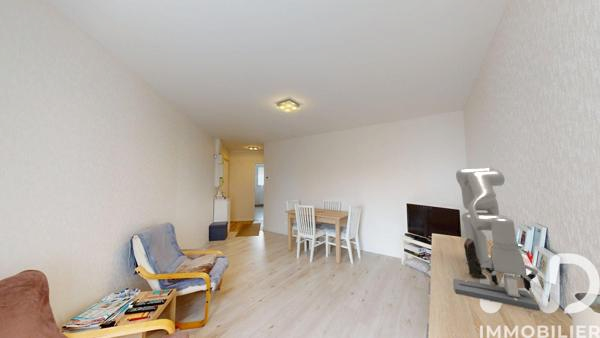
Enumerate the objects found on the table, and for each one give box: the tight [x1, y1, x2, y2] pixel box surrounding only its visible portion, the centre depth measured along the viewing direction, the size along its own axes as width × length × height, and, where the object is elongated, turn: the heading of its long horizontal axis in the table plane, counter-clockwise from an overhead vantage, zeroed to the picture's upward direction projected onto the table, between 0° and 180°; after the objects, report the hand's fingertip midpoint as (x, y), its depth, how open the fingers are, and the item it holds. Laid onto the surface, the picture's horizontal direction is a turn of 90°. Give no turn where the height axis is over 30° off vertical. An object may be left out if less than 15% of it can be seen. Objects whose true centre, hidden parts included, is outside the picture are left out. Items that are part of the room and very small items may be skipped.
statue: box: [463, 238, 488, 280], centre depth 108 cm, size 7×7×20 cm
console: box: [453, 277, 540, 311], centre depth 90 cm, size 26×12×2 cm, turn 55°
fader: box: [503, 273, 521, 298], centre depth 86 cm, size 4×7×7 cm, turn 145°
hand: (511, 286), depth 86 cm, fingers open, 9 cm apart
